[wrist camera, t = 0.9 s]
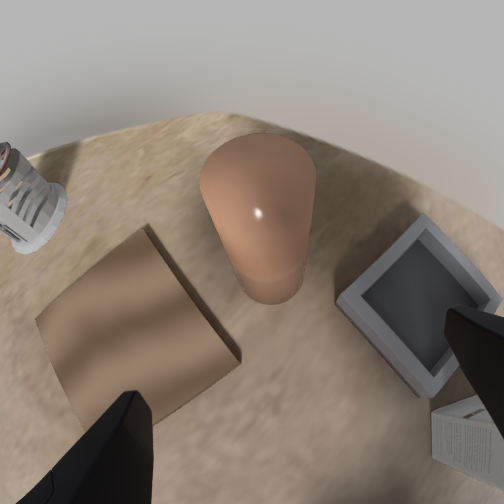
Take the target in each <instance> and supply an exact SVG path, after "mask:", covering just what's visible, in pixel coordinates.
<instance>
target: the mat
mask: <svg viewBox="0 0 504 504" xmlns="http://www.w3.org/2000/svg"><path fill="white" fill-rule="evenodd" d="M35 321H36V324H37V327H38V330H39V332H40V335H41V338H42V341H43V343H44V346H45V348H46V351H47V353H48V356H49V358H50V361H51V363H52V366H53V368H54V370H55V373H56V375H57V377H58V379H59V381H60V384H61V386H62V388H63V390H64V392H65V394H66V396H67V398H68V400H69V402H70V404H71V406H72V408H73V410H74V412H75V414H76V416H77V418H78V419H79V421H80V423H81V425H82V427H83V428H84V430H85V432H86V431H87V430H88V429H89V428H90V427H91V426H92V425H93V424H94V423H95V422H96V421H97V420H98V419H99V417H100V416H101V415H102V414H103V413H104V412H105V411H106V410H107V409H108V408H109V407H110V406H111V405H112V403H113V402H114V401H115V400H116V399H117V398H118V397H119V396H120V395H121V394H122V393H123V392H124V391H129V390H137V391H139V392H140V393H141V395H142V396H143V398H144V399H145V401H146V402H147V404H148V405H149V407H150V409H151V411H152V426H154V425H155V424H157V423H158V422H160V421H161V420H163V419H164V418H166V417H167V416H169V415H170V414H172V413H173V412H175V411H176V410H178V409H179V408H181V407H182V406H184V405H185V404H187V403H188V402H189V401H191V400H192V399H194V398H195V397H197V396H198V395H199V394H201V393H202V392H204V391H205V390H206V389H208V388H209V387H211V386H212V385H213V384H215V383H216V382H217V381H219V380H220V379H221V378H223V377H224V376H225V375H227V374H228V373H230V372H231V371H232V370H234V369H235V368H236V367H237V366H239V365H240V364H241V363H240V361H239V360H238V359H237V357H236V356H235V355H234V354H233V352H232V351H231V350H230V349H229V347H228V346H227V345H226V343H225V342H224V341H223V340H222V338H221V337H220V336H219V334H218V333H217V332H216V330H215V329H214V328H213V327H212V325H211V324H210V323H209V321H208V320H207V319H206V317H205V316H204V315H203V313H202V312H201V310H200V309H199V308H198V306H197V305H196V304H195V302H194V301H193V300H192V298H191V297H190V295H189V294H188V293H187V291H186V290H185V288H184V287H183V286H182V284H181V283H180V281H179V280H178V279H177V277H176V276H175V274H174V273H173V271H172V270H171V269H170V267H169V266H168V264H167V263H166V261H165V260H164V258H163V257H162V255H161V254H160V252H159V251H158V249H157V248H156V246H155V245H154V243H153V242H152V240H151V239H150V237H149V236H148V234H147V233H146V232H145V231H144V229H143V228H141V229H140V230H138V231H137V232H136V233H135V234H133V235H132V236H131V237H129V238H128V239H127V240H126V241H124V242H123V243H122V244H121V245H119V246H118V247H117V248H116V249H114V250H113V251H112V252H111V253H109V254H108V255H107V256H106V257H104V258H103V259H102V260H101V261H100V262H98V263H97V264H96V265H95V266H94V267H92V268H91V269H90V270H89V271H88V272H86V273H85V274H84V275H83V276H82V277H81V278H79V279H78V280H77V281H76V282H75V283H74V284H72V285H71V286H70V287H69V288H68V289H67V290H66V291H65V292H63V293H62V294H61V295H60V296H59V297H58V298H57V299H56V300H54V301H53V302H52V303H51V304H50V305H49V306H48V307H47V308H46V309H45V310H44V311H42V312H41V313H40V314H39V315H38V316H37V317H36V318H35Z"/></svg>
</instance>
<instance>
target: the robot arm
mask: <svg viewBox="0 0 504 504" xmlns="http://www.w3.org/2000/svg"><path fill="white" fill-rule="evenodd" d="M444 336H445V339H446V341H447V342H448V344H449V346H450V348H451V350H452V352H453V353H454V355H455V357H456V359H457V361H458V363H459V365H460V367H461V369H462V371H463V372H464V374H465V376H466V378H467V379H468V381H469V382H470V384H471V386H472V387H473V389H474V390H475V392H476V393H477V395H478V397H479V398H480V400H481V402H482V403H483V405H484V406H485V408H486V410H487V411H488V413H489V415H490V417H491V418H492V420H493V422H494V423H495V425H496V427H497V429H498V430H499V432H500V434H501V436H502V438H503V439H504V317H501V316H497V315H494V314H491V313H487V312H484V311H481V310H477V309H474V308H471V307H467V306H464V305H460V304H458V305H455V306H453V307H450V308H449V309H448V310H447V312H446V318H445V325H444ZM153 461H154V456H153V427H152V411H151V409H150V407H149V405H148V404H147V402H146V401H145V399H144V398H143V396H142V395H141V393H140V392H139V391H137V390H129V391H124V392H123V393H122V394H121V395H120V396H119V397H118V398H117V399H116V400H115V401H114V402H113V403H112V405H111V406H110V407H109V408H108V409H107V410H106V411H105V412H104V413H103V414H102V415H101V416H100V417H99V419H98V420H97V421H96V422H95V423H94V424H93V425H92V426H91V427H90V428H89V429H88V430H87V431H86V432H85V434H84V435H83V436H82V437H81V438H80V439H79V440H78V441H77V442H76V443H75V444H74V445H73V446H72V448H71V449H70V450H69V451H68V452H67V453H66V454H65V455H64V456H63V457H62V458H61V459H60V460H59V461H58V463H57V464H56V465H55V466H54V467H53V468H52V470H50V471H49V472H48V473H47V474H46V475H45V476H44V477H43V478H42V480H41V481H40V482H39V483H38V484H37V485H36V486H35V487H34V488H33V489H32V490H30V491H29V492H28V493H27V494H26V495H25V496H24V497H23V498H22V499H20V500H19V501H18V502H17V503H16V504H151V498H152V479H153Z"/></svg>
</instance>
